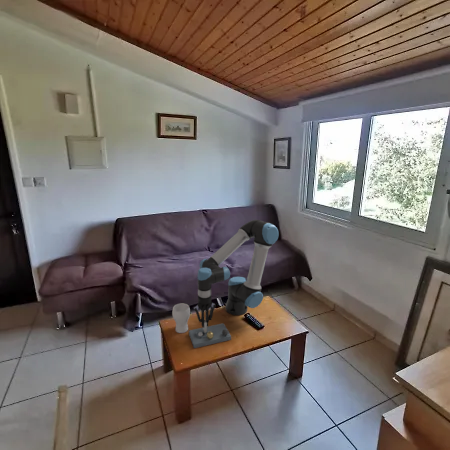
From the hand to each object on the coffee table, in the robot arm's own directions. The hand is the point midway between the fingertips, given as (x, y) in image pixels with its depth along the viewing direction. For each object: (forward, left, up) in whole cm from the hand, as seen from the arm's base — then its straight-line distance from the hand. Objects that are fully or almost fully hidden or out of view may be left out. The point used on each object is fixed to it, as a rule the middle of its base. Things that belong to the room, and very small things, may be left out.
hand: (205, 331), depth 163 cm
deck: (-3, +1, -4) cm, 5 cm away
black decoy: (-11, +6, 0) cm, 12 cm away
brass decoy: (-2, +5, +1) cm, 6 cm away
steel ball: (+3, 0, -2) cm, 4 cm away
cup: (+11, -12, -4) cm, 17 cm away
